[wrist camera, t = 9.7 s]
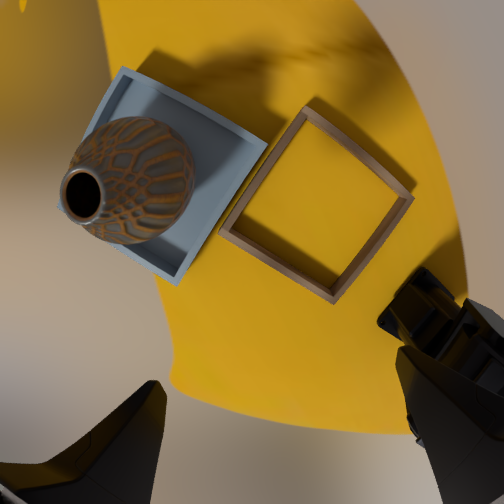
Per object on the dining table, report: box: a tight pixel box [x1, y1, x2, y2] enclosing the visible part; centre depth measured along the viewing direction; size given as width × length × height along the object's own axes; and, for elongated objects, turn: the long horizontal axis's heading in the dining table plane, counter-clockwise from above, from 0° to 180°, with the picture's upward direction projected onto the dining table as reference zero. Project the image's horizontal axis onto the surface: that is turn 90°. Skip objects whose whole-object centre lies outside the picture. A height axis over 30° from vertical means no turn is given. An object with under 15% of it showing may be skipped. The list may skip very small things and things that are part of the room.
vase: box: [60, 116, 196, 244], centre depth 13 cm, size 7×7×9 cm
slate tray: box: [57, 66, 268, 286], centre depth 17 cm, size 11×11×2 cm
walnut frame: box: [218, 105, 415, 305], centre depth 18 cm, size 10×10×1 cm
